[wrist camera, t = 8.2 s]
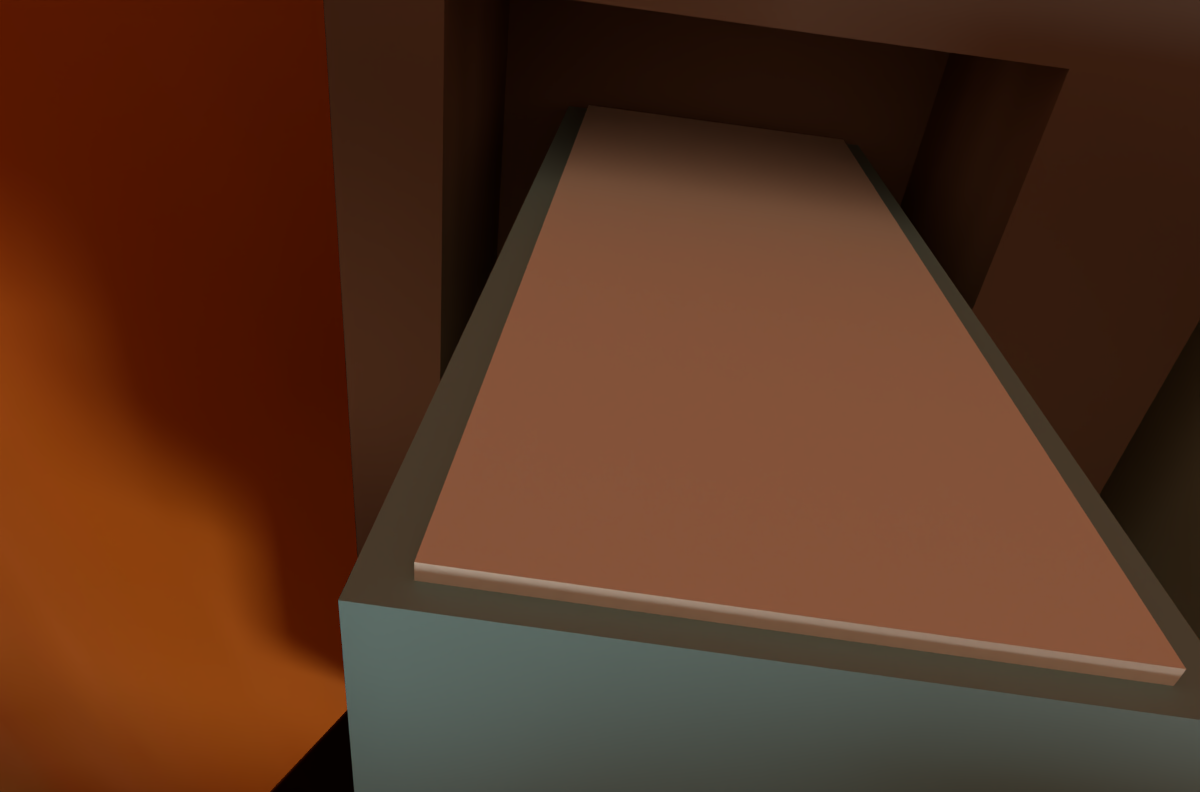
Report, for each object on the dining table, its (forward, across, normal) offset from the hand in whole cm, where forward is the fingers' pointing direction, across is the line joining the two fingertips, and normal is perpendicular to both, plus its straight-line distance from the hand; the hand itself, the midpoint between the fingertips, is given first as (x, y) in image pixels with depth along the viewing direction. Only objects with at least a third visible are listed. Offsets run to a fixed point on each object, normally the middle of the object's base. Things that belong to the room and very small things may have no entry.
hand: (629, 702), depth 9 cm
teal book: (+4, 0, 0) cm, 4 cm away
